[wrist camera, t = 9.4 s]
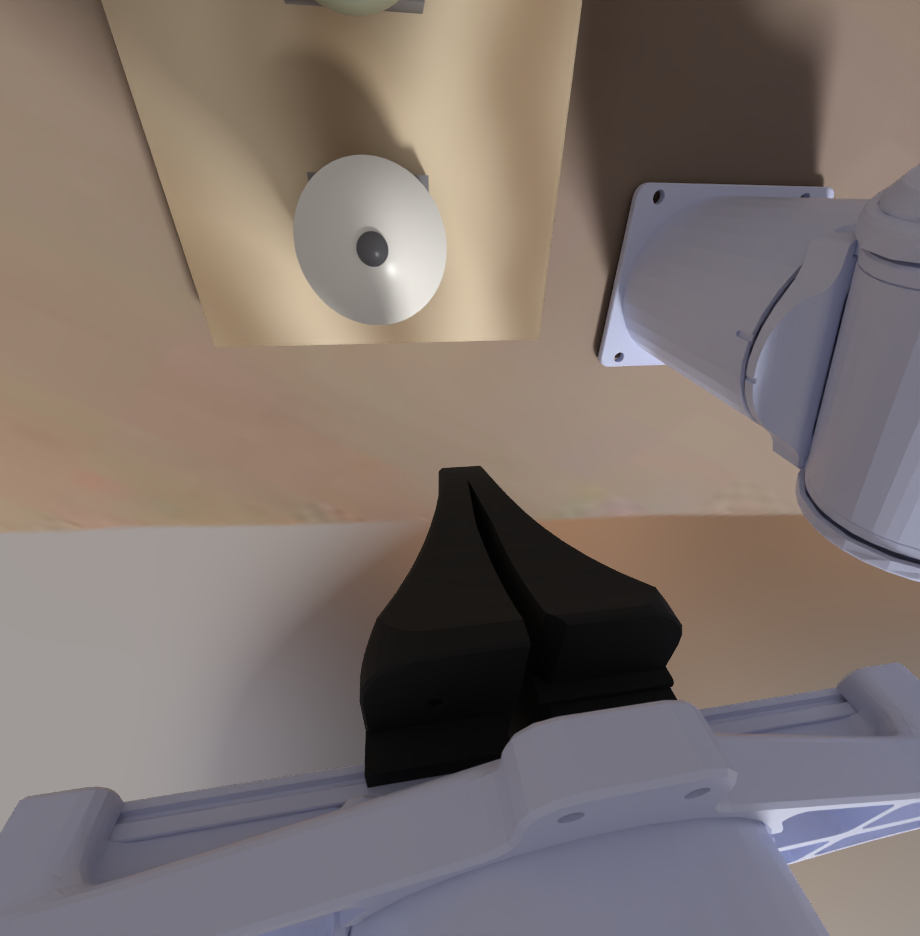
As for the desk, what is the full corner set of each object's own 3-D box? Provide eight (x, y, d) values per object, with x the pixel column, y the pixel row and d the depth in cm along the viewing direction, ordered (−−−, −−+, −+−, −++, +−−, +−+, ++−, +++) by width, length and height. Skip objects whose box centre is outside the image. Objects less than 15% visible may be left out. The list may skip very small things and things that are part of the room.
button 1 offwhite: (440, 160, 14) (447, 156, 12) (441, 310, 16) (447, 325, 15) (290, 156, 13) (275, 151, 11) (318, 312, 16) (308, 327, 14)
